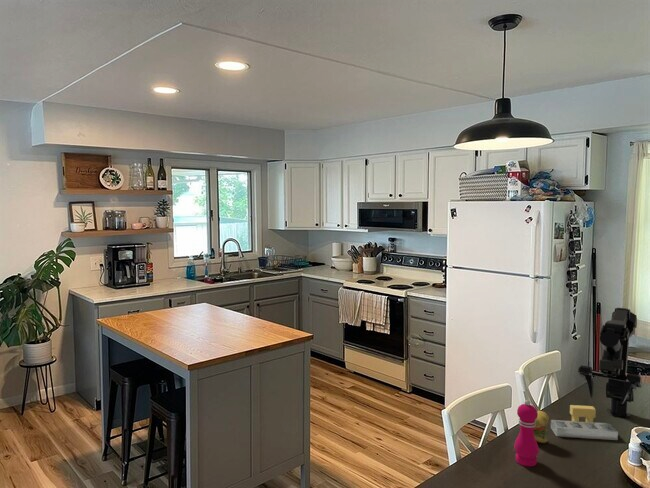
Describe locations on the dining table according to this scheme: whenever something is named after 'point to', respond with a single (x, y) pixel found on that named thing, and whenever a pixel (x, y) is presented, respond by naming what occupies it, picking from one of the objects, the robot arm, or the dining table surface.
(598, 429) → the grey compartment tray
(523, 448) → the pepper mill
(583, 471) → the dining table surface
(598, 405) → the dining table surface
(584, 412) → the pale yellow block
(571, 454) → the dining table surface
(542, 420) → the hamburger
